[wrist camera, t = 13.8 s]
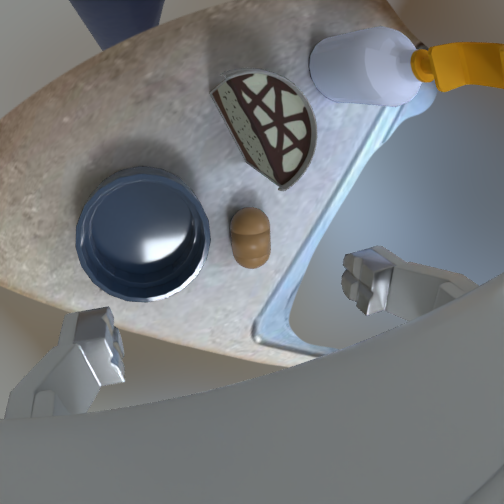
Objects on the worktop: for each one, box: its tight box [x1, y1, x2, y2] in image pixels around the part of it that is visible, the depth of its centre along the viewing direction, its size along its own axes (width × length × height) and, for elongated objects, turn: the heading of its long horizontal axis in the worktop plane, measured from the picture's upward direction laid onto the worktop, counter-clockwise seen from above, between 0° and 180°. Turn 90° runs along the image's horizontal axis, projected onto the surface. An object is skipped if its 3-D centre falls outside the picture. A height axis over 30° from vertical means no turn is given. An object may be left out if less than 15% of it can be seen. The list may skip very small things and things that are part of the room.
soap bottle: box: [309, 26, 504, 107], centre depth 24 cm, size 9×9×25 cm
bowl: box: [76, 166, 211, 302], centre depth 33 cm, size 14×14×5 cm
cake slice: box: [210, 68, 317, 191], centre depth 30 cm, size 12×6×10 cm, turn 26°
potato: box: [231, 207, 271, 269], centre depth 38 cm, size 8×5×5 cm, turn 3°
